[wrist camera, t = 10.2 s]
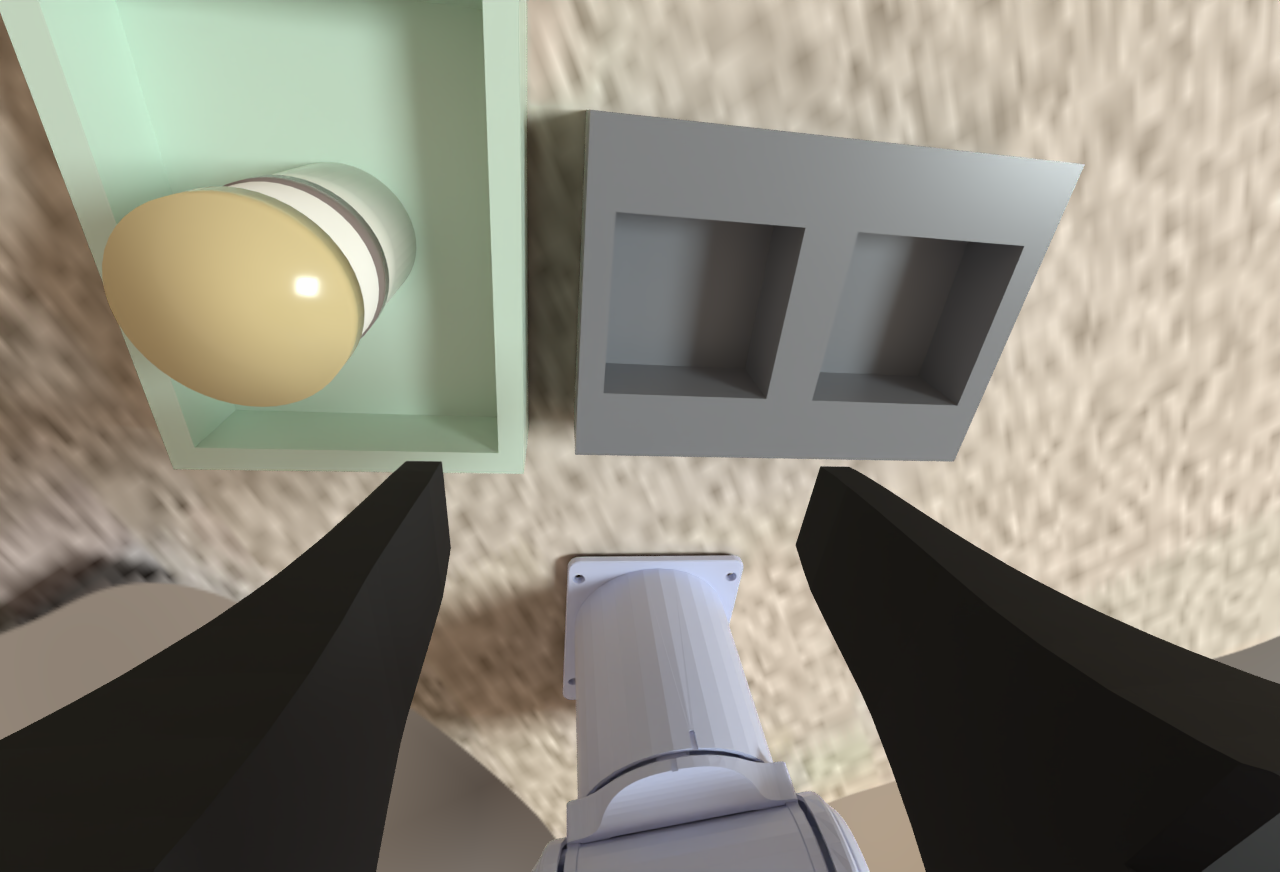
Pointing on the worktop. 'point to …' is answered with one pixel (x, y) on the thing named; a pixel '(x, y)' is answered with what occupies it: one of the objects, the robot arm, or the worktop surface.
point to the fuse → (259, 279)
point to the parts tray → (305, 134)
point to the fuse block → (796, 289)
